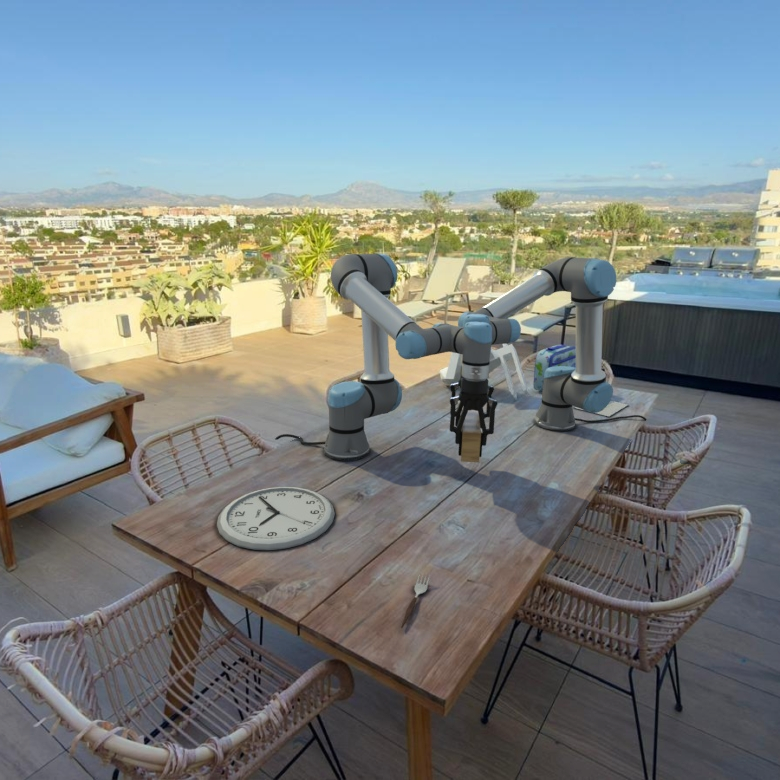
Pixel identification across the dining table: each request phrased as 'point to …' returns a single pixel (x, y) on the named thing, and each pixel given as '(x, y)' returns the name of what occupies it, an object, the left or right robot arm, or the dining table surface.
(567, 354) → the lunch box
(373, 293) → the left robot arm
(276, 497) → the wall clock
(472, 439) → the bar
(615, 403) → the invitation card
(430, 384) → the dining table surface
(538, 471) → the dining table surface
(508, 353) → the white plastic object
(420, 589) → the fork
